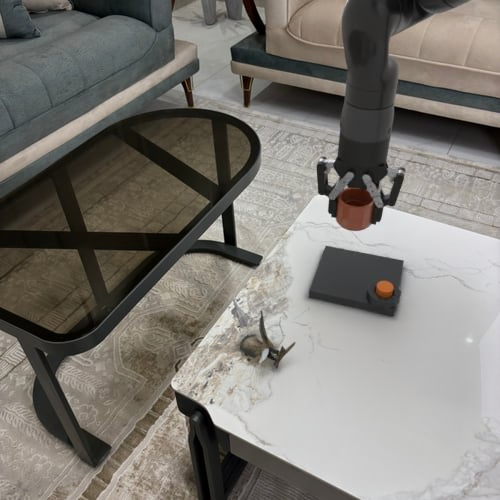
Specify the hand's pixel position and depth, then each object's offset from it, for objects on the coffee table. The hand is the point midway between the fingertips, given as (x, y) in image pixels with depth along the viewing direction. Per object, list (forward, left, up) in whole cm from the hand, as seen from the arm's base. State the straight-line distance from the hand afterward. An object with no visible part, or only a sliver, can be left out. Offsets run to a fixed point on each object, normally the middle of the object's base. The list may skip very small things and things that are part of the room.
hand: (354, 218), depth 85 cm
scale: (-2, -3, -18) cm, 18 cm away
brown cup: (0, 0, -1) cm, 1 cm away
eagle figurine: (+10, +19, -18) cm, 28 cm away
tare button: (-7, +1, -15) cm, 16 cm away
